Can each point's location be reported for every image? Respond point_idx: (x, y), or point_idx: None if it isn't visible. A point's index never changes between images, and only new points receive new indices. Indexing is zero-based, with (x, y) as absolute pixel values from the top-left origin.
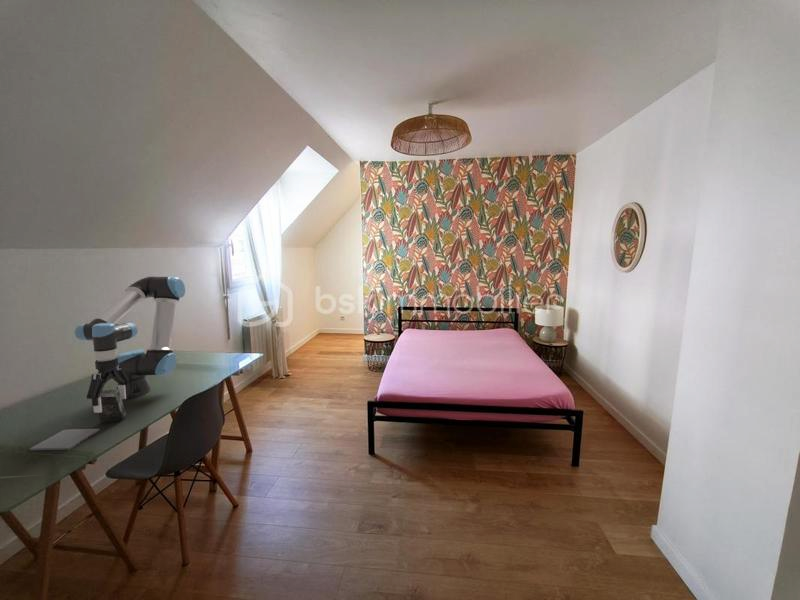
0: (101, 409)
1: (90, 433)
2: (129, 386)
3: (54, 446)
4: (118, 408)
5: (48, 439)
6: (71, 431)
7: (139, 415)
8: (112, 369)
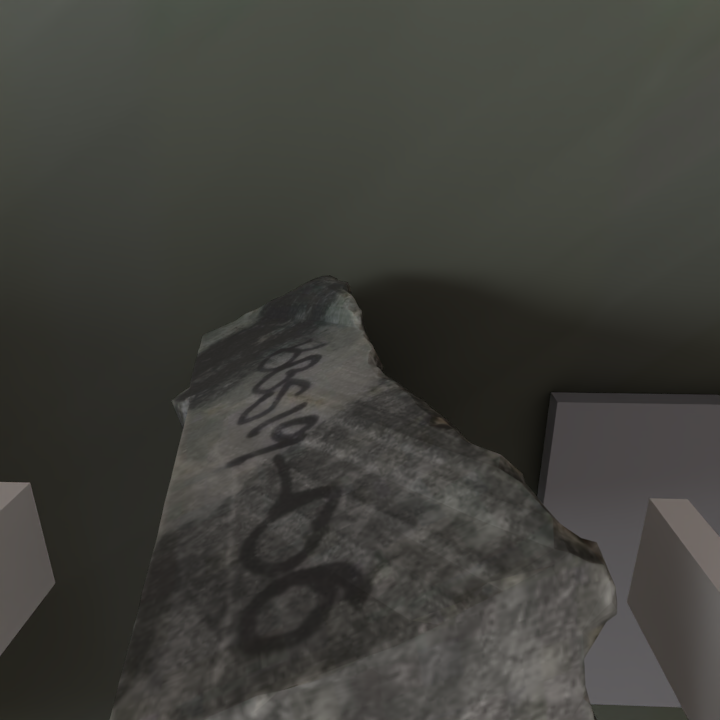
0: (692, 534)
1: (669, 420)
2: None
3: None
4: (378, 362)
5: None
6: None
7: (147, 177)
8: None
